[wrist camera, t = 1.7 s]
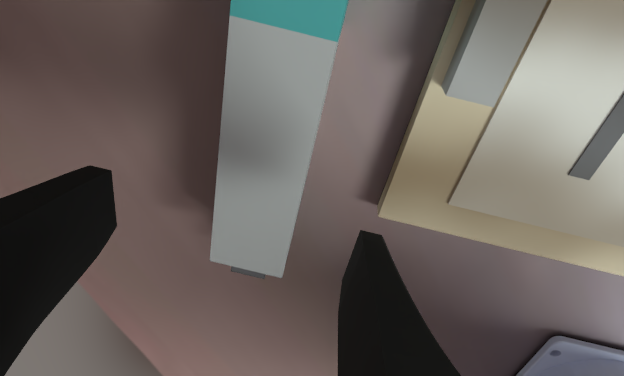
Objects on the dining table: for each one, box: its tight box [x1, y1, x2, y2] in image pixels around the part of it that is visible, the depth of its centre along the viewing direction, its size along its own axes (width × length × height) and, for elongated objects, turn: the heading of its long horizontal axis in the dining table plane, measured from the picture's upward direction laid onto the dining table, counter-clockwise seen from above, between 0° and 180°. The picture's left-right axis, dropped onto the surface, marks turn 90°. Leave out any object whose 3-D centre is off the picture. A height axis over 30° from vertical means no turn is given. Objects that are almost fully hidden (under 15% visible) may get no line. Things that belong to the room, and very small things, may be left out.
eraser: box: [210, 0, 349, 279], centre depth 14 cm, size 14×3×3 cm, turn 168°
